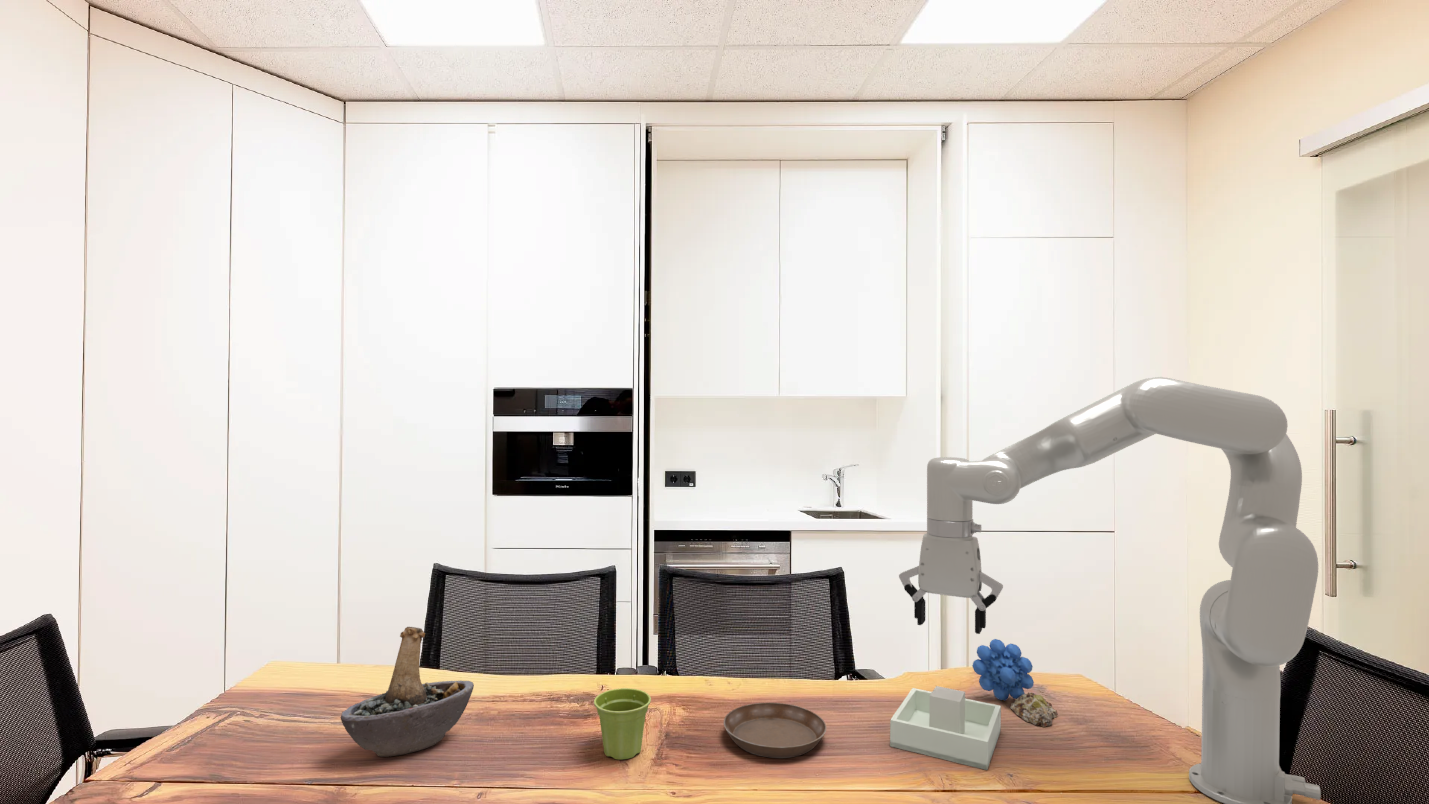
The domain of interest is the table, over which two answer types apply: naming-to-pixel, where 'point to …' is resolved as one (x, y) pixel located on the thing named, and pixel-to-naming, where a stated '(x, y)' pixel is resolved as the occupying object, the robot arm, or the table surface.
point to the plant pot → (622, 721)
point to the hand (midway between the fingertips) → (949, 627)
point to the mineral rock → (1034, 709)
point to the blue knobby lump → (1003, 670)
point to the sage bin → (961, 748)
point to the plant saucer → (774, 729)
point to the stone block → (947, 709)
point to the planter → (407, 707)
